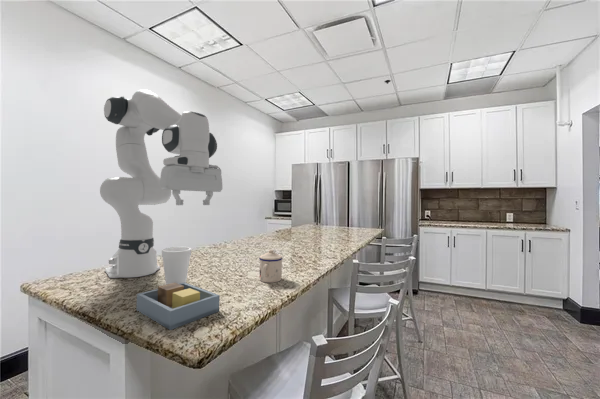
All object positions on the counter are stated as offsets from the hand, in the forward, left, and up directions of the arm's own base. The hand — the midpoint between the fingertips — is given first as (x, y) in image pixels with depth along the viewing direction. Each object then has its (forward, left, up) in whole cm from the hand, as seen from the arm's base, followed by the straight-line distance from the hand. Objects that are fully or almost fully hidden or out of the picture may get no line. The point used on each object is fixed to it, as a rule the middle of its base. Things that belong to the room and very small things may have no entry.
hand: (193, 205), depth 87 cm
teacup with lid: (+8, +28, -29) cm, 41 cm away
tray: (+8, -9, -29) cm, 31 cm away
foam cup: (-13, +2, -29) cm, 32 cm away
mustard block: (+12, -9, -28) cm, 32 cm away
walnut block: (+4, -9, -28) cm, 30 cm away
